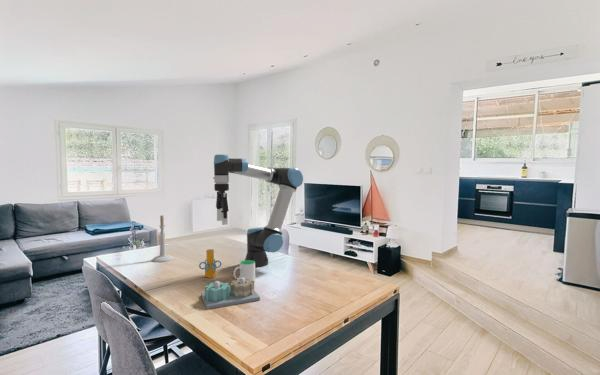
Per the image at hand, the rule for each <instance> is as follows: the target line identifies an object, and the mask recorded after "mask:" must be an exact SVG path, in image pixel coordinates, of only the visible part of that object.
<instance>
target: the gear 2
mask: <svg viewBox="0 0 600 375" xmlns="http://www.w3.org/2000/svg"><path fill="white" fill-rule="evenodd" d="M254 291H255V282H254V281H253V280H252V281H251V280H250V279H245V284H240V279H236V280H231V283H230V294H231V295H235V297H239V296H243V297H247V295H253V294H254Z"/></svg>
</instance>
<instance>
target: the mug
mask: <svg viewBox="0 0 600 375" xmlns="http://www.w3.org/2000/svg"><path fill="white" fill-rule="evenodd" d="M238 269H239V277H237V276H236V273H237V270H238ZM233 277H234V279H236V280H238V279H240V278H245V279H250V280H251V281H252V280H253V281H254V283H255V282H256V267H255V261H252V260H245V259H244V260H241V261H240V262H239V266H236V267H235V268H234V269H233Z"/></svg>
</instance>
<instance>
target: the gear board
mask: <svg viewBox="0 0 600 375" xmlns="http://www.w3.org/2000/svg"><path fill="white" fill-rule="evenodd" d="M220 282H221V281H219V280H216V281H214V282H213V283H214V288H220ZM240 284H245V278H240ZM200 297H201V298H202V301H203V304H204V306H205V308H206V310H209V309H218V308H222V307H229V306H234V305H240V304H241V305H242V304H246V303H251V302H256V301H260V300H261V297H260V295H259V294H258V292H256V291H255V290H254V294H253V295H247V297H243V296H239V297H235V295H231V294H230V297H227V298H226V300H218V301H216V302H213V300H206V297H205V291H203V292H200Z"/></svg>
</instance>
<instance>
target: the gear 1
mask: <svg viewBox="0 0 600 375" xmlns="http://www.w3.org/2000/svg"><path fill="white" fill-rule="evenodd" d="M219 282H220V288H214V282H211V283H210V282H209V284H208V285H205V286H204V292H205V297H206V300H213V302H216V301H218V300H226V298H227V297H230V285H229V282H222V281H219Z"/></svg>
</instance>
